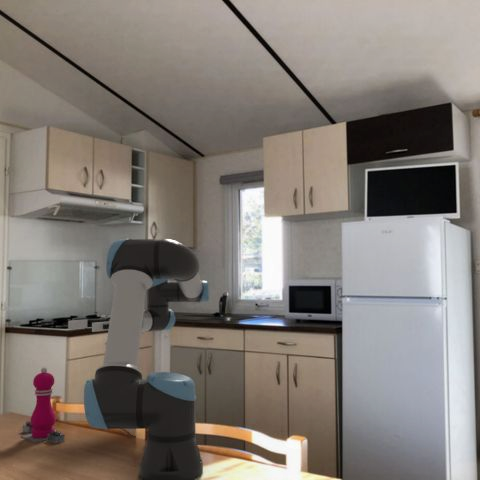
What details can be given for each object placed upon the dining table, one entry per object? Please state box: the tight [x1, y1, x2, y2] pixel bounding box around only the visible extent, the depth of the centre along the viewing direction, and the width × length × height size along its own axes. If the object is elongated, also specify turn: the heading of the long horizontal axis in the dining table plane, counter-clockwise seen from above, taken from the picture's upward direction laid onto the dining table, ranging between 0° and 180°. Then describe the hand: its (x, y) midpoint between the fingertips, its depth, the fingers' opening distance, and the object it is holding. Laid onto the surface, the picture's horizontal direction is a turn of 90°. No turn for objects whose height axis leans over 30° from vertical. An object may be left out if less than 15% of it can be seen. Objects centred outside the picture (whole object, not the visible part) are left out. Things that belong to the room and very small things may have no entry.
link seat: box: [20, 433, 48, 444], centre depth 165 cm, size 9×9×1 cm
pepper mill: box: [30, 366, 57, 438], centre depth 166 cm, size 7×7×20 cm
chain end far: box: [22, 420, 34, 435], centre depth 170 cm, size 4×3×3 cm
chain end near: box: [47, 429, 65, 445], centre depth 160 cm, size 4×3×3 cm
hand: (80, 326), depth 174 cm, fingers open, 13 cm apart
